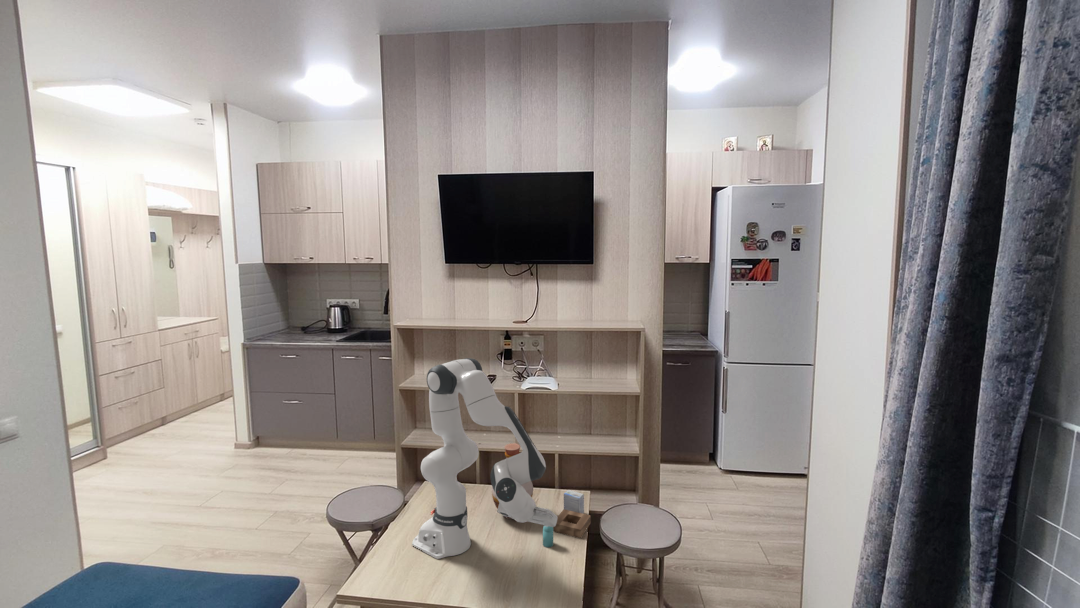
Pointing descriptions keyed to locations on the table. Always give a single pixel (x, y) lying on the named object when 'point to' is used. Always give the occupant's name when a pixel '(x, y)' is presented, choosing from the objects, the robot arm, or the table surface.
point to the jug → (511, 451)
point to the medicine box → (574, 501)
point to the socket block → (572, 523)
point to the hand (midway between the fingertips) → (534, 521)
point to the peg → (547, 536)
